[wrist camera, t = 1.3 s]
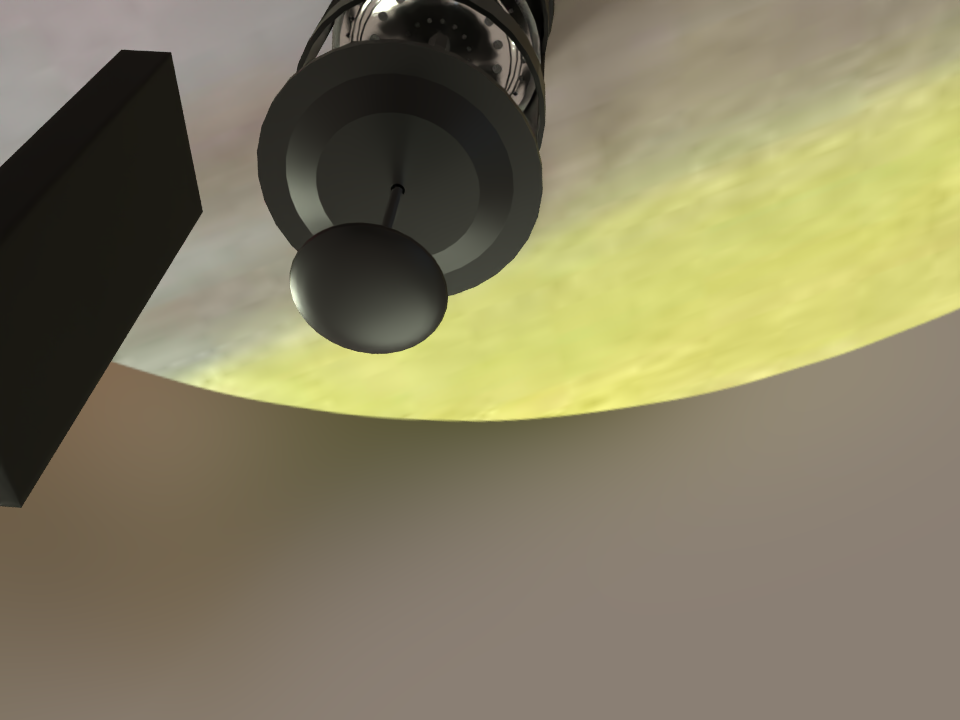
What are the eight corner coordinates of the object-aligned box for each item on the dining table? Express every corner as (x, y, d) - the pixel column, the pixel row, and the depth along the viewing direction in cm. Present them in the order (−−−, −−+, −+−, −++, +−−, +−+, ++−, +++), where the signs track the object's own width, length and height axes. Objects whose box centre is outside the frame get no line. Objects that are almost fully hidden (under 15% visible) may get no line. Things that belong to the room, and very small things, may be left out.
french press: (396, -169, 37) (240, 37, 19) (599, -65, 39) (628, 209, 21) (312, 82, 44) (144, 399, 26) (487, 158, 46) (439, 501, 28)
